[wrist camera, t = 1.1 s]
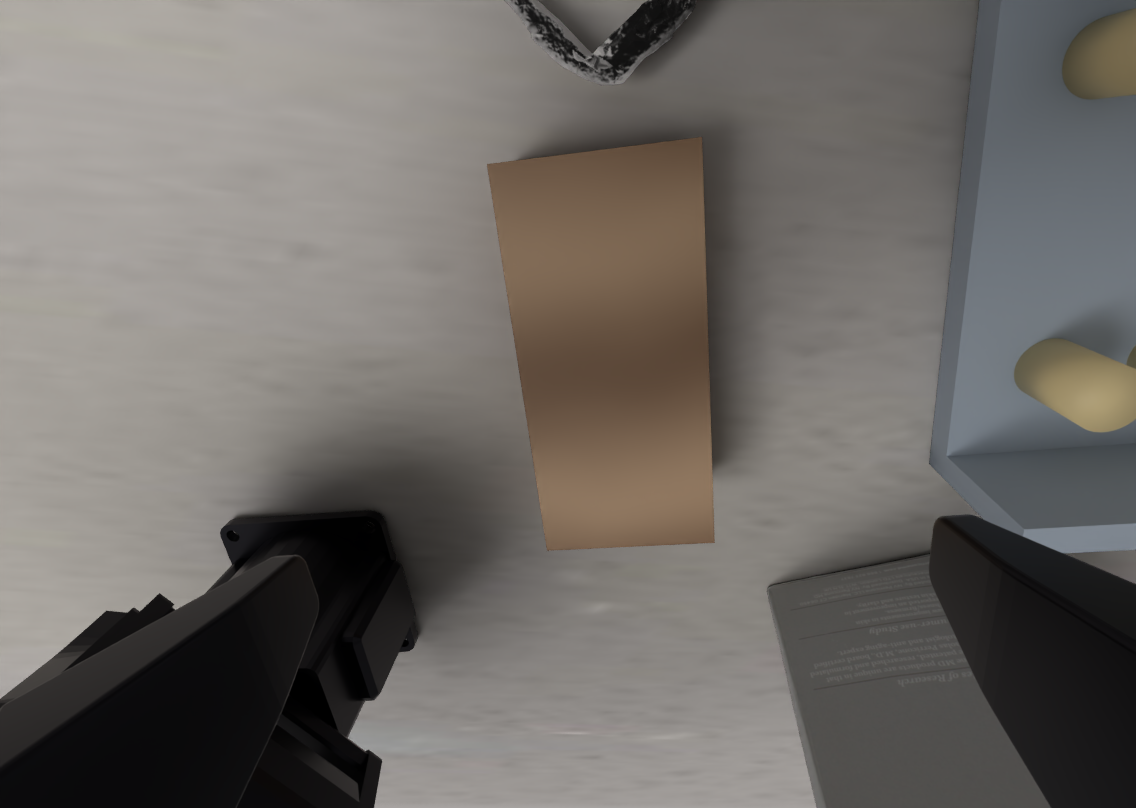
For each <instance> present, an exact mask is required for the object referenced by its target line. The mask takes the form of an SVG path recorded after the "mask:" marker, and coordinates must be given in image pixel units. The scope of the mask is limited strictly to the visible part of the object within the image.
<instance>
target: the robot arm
mask: <svg viewBox="0 0 1136 808" xmlns="http://www.w3.org/2000/svg"><path fill="white" fill-rule="evenodd" d="M367 522H371V523H372V524H374V526H375V527H371V526H369V525H368V524H367ZM234 531H235V532H236V533H238V535H237V534H235V533H234ZM220 535H221V538H222V541H223V543H224V546H225V548H226V551H227V553H228V556H229V558H230V560H231V563H232V566H231V567H230V568H229V569H228V570H227V571H226V572H225V573H224V574H223V575H222V576H221V577H220V578H219V579H218V580H217V582H216V583H215V584H214V585H213V586H212V587H211V588H210V589H209V590H208V591H207V592H206V593H205V594H204V595H202V596H200V597H199V598H197V599H195V600H193V601H191V602H189V603H188V604H186V605H184V606H182V607H180V608H179V609H177V610H175V609H174V608H173V607H172V606H173V605H174V604H173V603H172V602H171V601H169V600H168V599H167V598H165V597H164V596H163V595H161V594H160V593H159V594H158V595H157V596H156V597H155V598H154V599H153V600H152V601H151V602H150V603H149V604H148V605H147V606H145V607H144V608H143V609H142V610H141V611H140V612H139V611H138V610H137V609H135V608H132V609H131V610H130V611H129V612H128V613H125V612H114V611H106V612H105V613H104V614H102V615H101V616H100V617H99V618H98V619H97V620H96V621H94V622H93V623H92V624H91V625H90V626H89V627H88V628H87V629H85V630H84V631H83V632H82V633H81V634H80V635H79V636H78V637H76V638H75V639H74V640H73V641H72V642H71V643H70V644H68V645H67V646H66V647H65V648H64V649H63V650H61V651H60V652H59V653H58V654H57V655H55V656H54V657H53V658H52V659H51V660H49V661H48V662H47V663H45V664H44V665H43V666H42V667H40V668H39V669H38V670H37V671H35V672H34V673H33V674H31V675H30V676H29V677H28V678H26V679H25V680H24V681H23V682H21V683H20V684H19V685H17V686H16V687H15V688H14V689H12V690H11V691H10V692H8V693H7V694H6V695H5V696H3V697H2V698H1V699H0V808H374V804H375V798H376V793H377V787H378V781H379V776H380V770H381V764H382V759H380V758H379V757H378V756H376V755H375V754H374V753H372V752H371V751H370V750H367V751H364V750H363V749H362V748H360V747H359V746H357V745H356V744H355V743H353V742H352V741H351V740H349V739H348V736H349V734H350V731H351V729H352V727H353V725H354V723H355V721H356V719H357V717H358V715H359V712H360V710H361V708H362V706H363V704H364V702H365V701H371V700H375V699H376V697H377V696H378V695H379V694H380V693H381V690H382V688H383V686H384V684H385V681H386V679H387V677H388V675H389V673H390V670H391V668H392V666H393V664H394V661H395V659H396V657H397V655H398V653H399V652H406V651H410V650H412V649H413V648H414V646H415V643H416V641H417V639H418V634H417V631H416V627H415V623H414V620H413V619H414V617H415V610H414V607H413V603H412V600H411V596H410V592H409V589H408V585H407V582H406V578H405V575H404V571H403V567H402V565H401V564H400V563H399V562H398V560H396V556H395V552H394V549H393V545H392V542H391V538H390V535H389V531H388V528H387V524H386V521H385V519H384V517H383V516H382V515H381V514H380V513H378V512H376V511H371V510H367V511H352V512H337V513H322V514H307V515H292V516H276V517H261V518H246V519H234V520H230V521H229V522H228V523H227V524H226V525H225V526H224V527H223V528H222V529H221V532H220ZM929 577H930V581H931V584H932V587H933V589H934V591H935V593H936V596H937V598H938V600H939V602H940V604H941V606H942V608H943V611H944V613H945V615H946V617H947V619H948V621H949V624H950V626H951V628H952V630H953V632H954V634H955V636H956V639H957V641H958V643H959V645H960V647H961V649H962V652H963V654H964V656H965V658H966V660H967V662H968V665H969V667H970V669H971V671H972V673H973V675H974V677H975V679H976V681H977V683H978V685H979V687H980V689H981V691H982V693H983V695H984V697H985V698H986V700H987V702H988V704H989V705H990V707H991V709H992V711H993V712H994V714H995V716H996V717H997V719H998V721H999V722H1000V724H1001V726H1002V727H1003V729H1004V731H1005V732H1006V734H1007V736H1008V737H1009V739H1010V741H1011V742H1012V744H1013V746H1014V747H1015V749H1016V751H1017V752H1018V754H1019V756H1020V757H1021V759H1022V761H1023V762H1024V764H1025V766H1026V767H1027V769H1028V771H1029V772H1030V774H1031V776H1032V777H1033V779H1034V781H1035V782H1036V784H1037V786H1038V787H1039V789H1040V791H1041V792H1042V794H1043V796H1044V797H1045V799H1046V801H1047V802H1048V804H1049V806H1050V807H1051V808H1136V584H1134V583H1132V582H1129V581H1127V580H1125V579H1122V578H1120V577H1118V576H1115V575H1113V574H1111V573H1108V572H1106V571H1103V570H1101V569H1099V568H1096V567H1094V566H1092V565H1089V564H1087V563H1085V562H1082V561H1080V560H1078V559H1075V558H1073V557H1070V556H1068V555H1066V554H1063V553H1061V552H1059V551H1056V550H1054V549H1052V548H1049V547H1047V546H1045V545H1042V544H1040V543H1037V542H1035V541H1033V540H1030V539H1028V538H1026V537H1023V536H1021V535H1019V534H1016V533H1014V532H1011V531H1009V530H1007V529H1004V528H1002V527H1000V526H997V525H995V524H993V523H990V522H988V521H986V520H983V519H981V518H978V517H976V516H973V515H953V516H941V517H939V518H938V519H937V520H936V521H935V523H934V527H933V534H932V542H931V551H930V560H929ZM405 638H406V639H407V640H405Z"/></svg>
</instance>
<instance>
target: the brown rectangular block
mask: <svg viewBox="0 0 1136 808" xmlns="http://www.w3.org/2000/svg"><path fill="white" fill-rule="evenodd" d="M487 167H488V174H489V180H490V187H491V193H492V199H493V206H494V212H495V219H496V225H497V232H498V238H499V245H500V251H501V257H502V264H503V270H504V277H505V283H506V290H507V296H508V302H509V309H510V315H511V322H512V328H513V335H514V341H515V347H516V354H517V360H518V367H519V373H520V380H521V386H522V392H523V399H524V405H525V412H526V418H527V425H528V431H529V437H530V444H531V450H532V457H533V463H534V470H535V476H536V482H537V489H538V495H539V502H540V508H541V515H542V521H543V527H544V534H545V540H546V547H547V551H549V550H570V549H591V548H612V547H633V546H654V545H675V544H696V543H715V542H714V509H713V477H712V444H711V412H710V379H709V347H708V314H707V282H706V249H705V216H704V184H703V151H702V137H697V138H690V139H682V140H674V141H666V142H658V143H650V144H642V145H635V146H627V147H619V148H611V149H603V150H595V151H587V152H580V153H572V154H564V155H556V156H548V157H540V158H532V159H525V160H517V161H509V162H501V163H493V164H487Z"/></svg>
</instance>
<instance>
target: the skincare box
mask: <svg viewBox="0 0 1136 808" xmlns="http://www.w3.org/2000/svg"><path fill="white" fill-rule="evenodd" d="M929 560H930V554H929V555H924V556H919V557H914V558H908V559H904V560H900V561H895V562H889V563H884V564H879V565H874V566H869V567H864V568H859V569H854V570H848V571H843V572H837V573H832V574H827V575H822V576H815V577H811V578H806V579H801V580H796V581H791V582H787V583H782V584H777V585H773V586H770V587H769V588H768V589H767V594H768V598H769V603H770V607H771V611H772V616H773V620H774V624H775V628H776V633H777V637H778V641H779V645H780V650H781V654H782V658H783V663H784V667H785V671H786V675H787V680H788V684H789V689H790V694H791V699H792V703H793V708H794V713H795V717H796V721H797V726H798V730H799V734H800V738H801V743H802V747H803V751H804V756H805V760H806V764H807V768H808V773H809V777H810V781H811V785H812V790H813V794H814V798H815V803H816V807H817V808H1051V807H1050V806H1049V804H1048V802H1047V801H1046V799H1045V797H1044V796H1043V794H1042V792H1041V791H1040V789H1039V787H1038V786H1037V784H1036V782H1035V781H1034V779H1033V777H1032V776H1031V774H1030V772H1029V771H1028V769H1027V767H1026V766H1025V764H1024V762H1023V761H1022V759H1021V757H1020V756H1019V754H1018V752H1017V751H1016V749H1015V747H1014V746H1013V744H1012V742H1011V741H1010V739H1009V737H1008V736H1007V734H1006V732H1005V731H1004V729H1003V727H1002V726H1001V724H1000V722H999V721H998V719H997V717H996V716H995V714H994V712H993V711H992V709H991V707H990V705H989V704H988V702H987V700H986V698H985V697H984V695H983V693H982V691H981V689H980V687H979V685H978V683H977V681H976V679H975V677H974V675H973V673H972V671H971V669H970V667H969V665H968V662H967V660H966V658H965V656H964V654H963V652H962V649H961V647H960V645H959V643H958V641H957V639H956V636H955V634H954V632H953V630H952V628H951V626H950V624H949V621H948V619H947V617H946V615H945V613H944V611H943V608H942V606H941V604H940V602H939V600H938V598H937V596H936V593H935V591H934V589H933V587H932V584H931V581H930V577H929Z"/></svg>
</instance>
